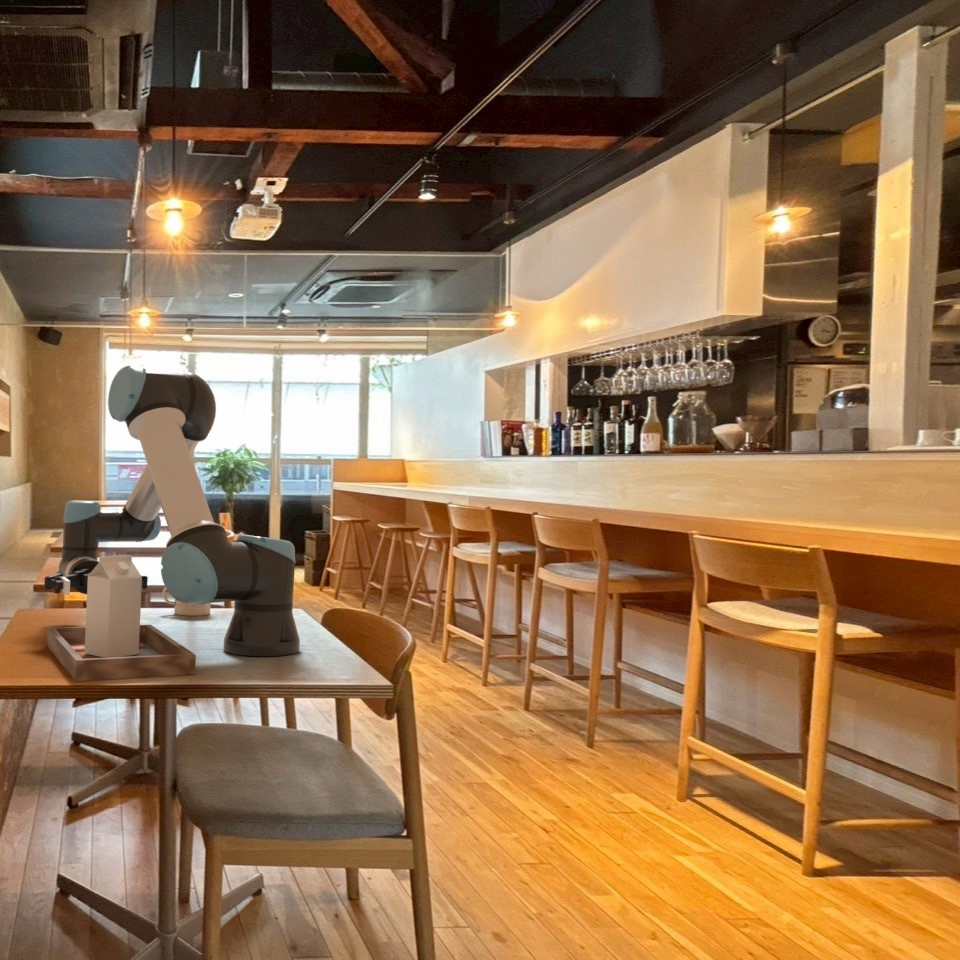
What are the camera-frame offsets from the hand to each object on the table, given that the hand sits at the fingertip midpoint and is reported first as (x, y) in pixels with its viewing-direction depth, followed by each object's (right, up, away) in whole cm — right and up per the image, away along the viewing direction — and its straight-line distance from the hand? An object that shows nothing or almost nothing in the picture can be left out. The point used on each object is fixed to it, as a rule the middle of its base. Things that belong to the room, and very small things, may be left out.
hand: (104, 587), depth 206 cm
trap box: (+7, -12, -13) cm, 19 cm away
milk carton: (+5, -12, -8) cm, 16 cm away
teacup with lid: (+2, -12, +49) cm, 51 cm away
